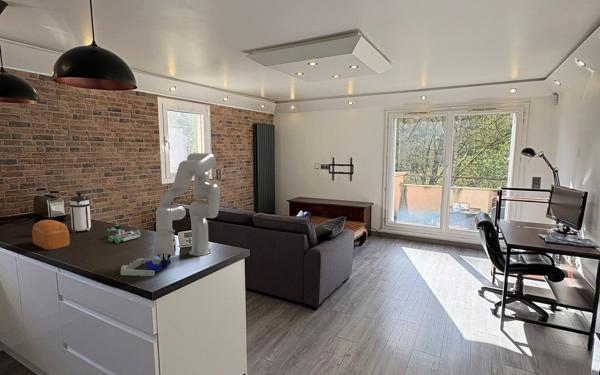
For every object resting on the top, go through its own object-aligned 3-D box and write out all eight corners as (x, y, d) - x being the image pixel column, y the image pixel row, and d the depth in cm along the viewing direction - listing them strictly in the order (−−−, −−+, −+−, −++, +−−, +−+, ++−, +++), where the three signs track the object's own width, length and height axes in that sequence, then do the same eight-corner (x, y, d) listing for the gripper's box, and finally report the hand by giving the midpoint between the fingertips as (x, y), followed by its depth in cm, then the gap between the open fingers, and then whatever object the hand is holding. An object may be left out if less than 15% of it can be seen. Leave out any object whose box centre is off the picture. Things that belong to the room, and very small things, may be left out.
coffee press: (99, 229, 250) (96, 191, 247) (78, 234, 235) (75, 193, 232) (83, 227, 256) (81, 190, 253) (62, 232, 241) (59, 192, 238)
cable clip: (165, 264, 172) (162, 254, 172) (171, 263, 170) (167, 252, 170) (147, 274, 161) (143, 262, 161) (152, 272, 159) (148, 261, 159)
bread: (45, 251, 196) (43, 225, 194) (31, 243, 211) (29, 220, 209) (71, 245, 207) (69, 221, 205) (56, 239, 222) (54, 216, 220)
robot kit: (120, 234, 238) (119, 221, 237) (144, 237, 228) (144, 224, 227) (95, 240, 221) (94, 227, 220) (121, 244, 211) (120, 230, 210)
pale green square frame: (140, 262, 176) (140, 255, 175) (170, 263, 175) (170, 256, 174) (120, 274, 158) (120, 267, 158) (153, 276, 157) (153, 268, 157)
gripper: (181, 230, 166) (182, 264, 168) (153, 229, 167) (154, 264, 169) (175, 233, 159) (176, 269, 160) (146, 233, 160) (147, 268, 161)
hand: (165, 266), depth 165 cm, fingers closed
